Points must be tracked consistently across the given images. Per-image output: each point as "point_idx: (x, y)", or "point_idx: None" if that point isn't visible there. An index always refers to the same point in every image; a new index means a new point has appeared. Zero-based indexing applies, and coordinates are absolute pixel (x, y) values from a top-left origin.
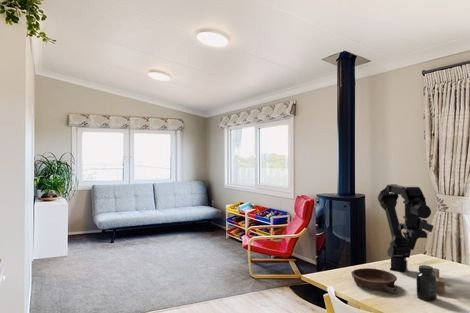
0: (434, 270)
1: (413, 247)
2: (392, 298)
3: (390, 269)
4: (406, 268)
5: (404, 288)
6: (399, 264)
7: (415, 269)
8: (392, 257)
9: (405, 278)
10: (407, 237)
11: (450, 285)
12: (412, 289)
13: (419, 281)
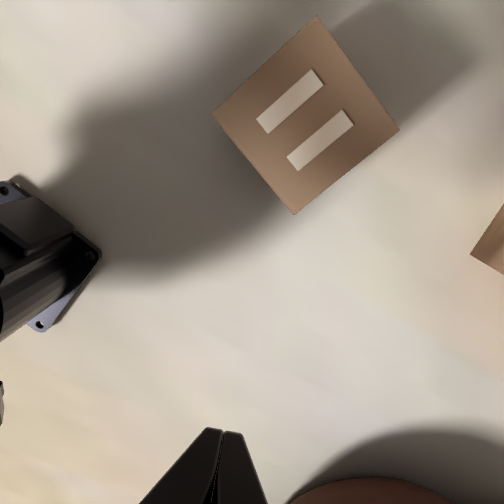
0: (354, 109)
1: (254, 484)
2: None
3: (49, 327)
4: (61, 223)
5: (440, 416)
6: (43, 294)
7: (5, 102)
8: (2, 391)
9: (245, 311)
10: None
11: (440, 20)
12: (467, 377)
13: None
